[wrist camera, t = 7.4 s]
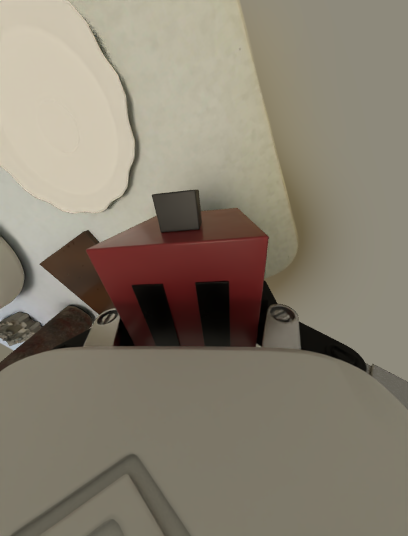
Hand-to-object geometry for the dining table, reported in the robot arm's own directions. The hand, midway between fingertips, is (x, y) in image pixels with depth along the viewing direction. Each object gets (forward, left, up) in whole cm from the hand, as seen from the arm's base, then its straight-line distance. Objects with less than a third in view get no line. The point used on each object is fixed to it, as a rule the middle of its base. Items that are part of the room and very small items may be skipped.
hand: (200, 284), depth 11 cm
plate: (+21, +11, -16) cm, 29 cm away
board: (+2, +26, -15) cm, 30 cm away
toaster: (0, 0, -2) cm, 2 cm away
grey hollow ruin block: (+1, +58, -16) cm, 60 cm away
